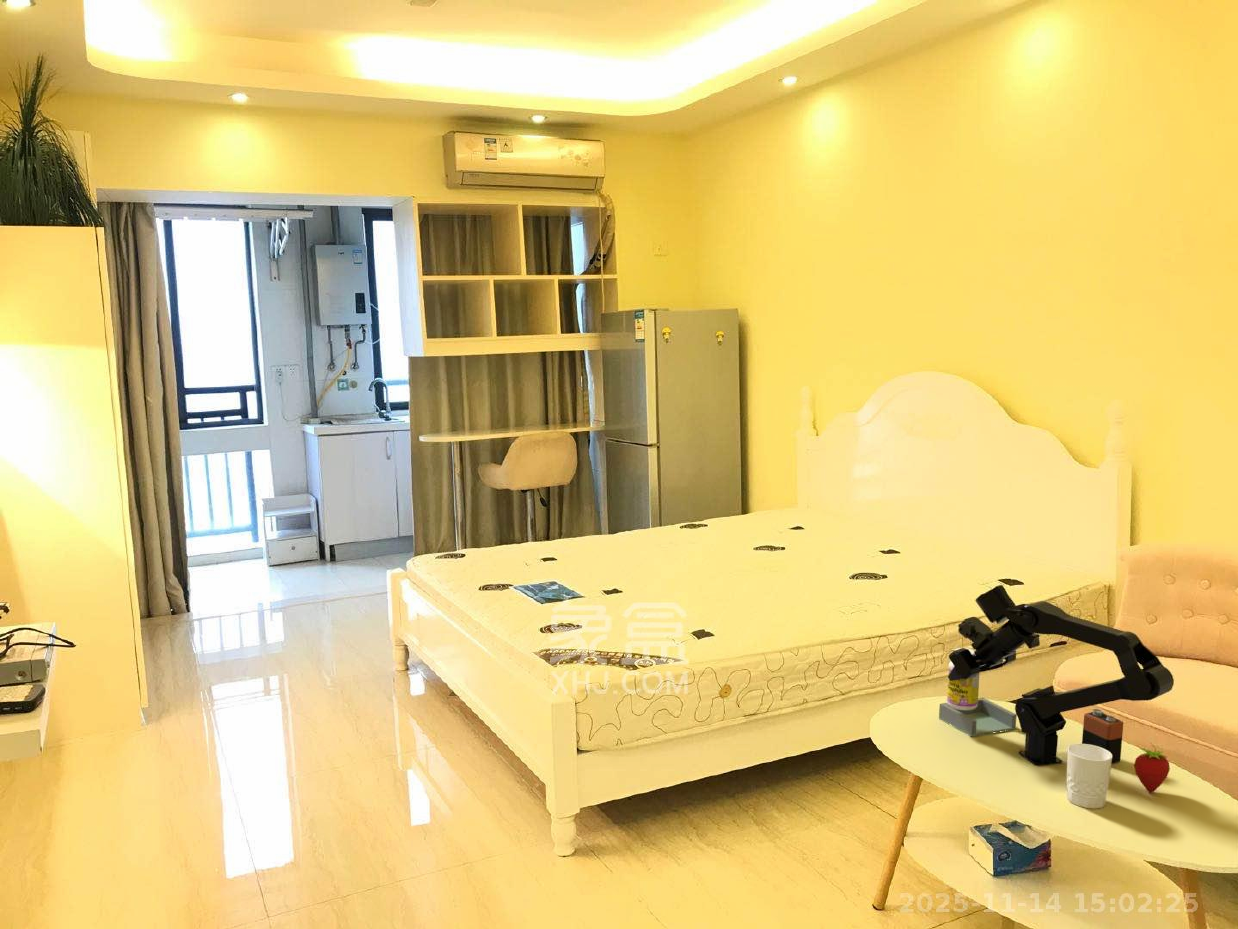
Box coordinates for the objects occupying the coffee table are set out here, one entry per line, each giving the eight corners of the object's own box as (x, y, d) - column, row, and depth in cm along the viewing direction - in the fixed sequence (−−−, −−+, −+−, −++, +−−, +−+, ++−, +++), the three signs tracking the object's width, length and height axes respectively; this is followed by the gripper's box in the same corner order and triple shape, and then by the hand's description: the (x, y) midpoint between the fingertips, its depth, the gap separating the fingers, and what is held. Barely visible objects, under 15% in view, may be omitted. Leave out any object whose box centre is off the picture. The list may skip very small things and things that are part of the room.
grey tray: (1015, 729, 233) (1016, 714, 232) (971, 737, 228) (972, 721, 228) (981, 712, 243) (982, 697, 242) (938, 718, 239) (939, 703, 238)
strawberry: (1125, 791, 202) (1129, 743, 201) (1143, 781, 207) (1148, 734, 205) (1155, 803, 198) (1160, 754, 196) (1173, 792, 202) (1178, 744, 201)
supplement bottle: (941, 705, 232) (943, 650, 230) (957, 698, 236) (959, 644, 234) (967, 713, 227) (970, 658, 225) (983, 706, 231) (986, 651, 229)
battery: (1094, 750, 222) (1098, 706, 221) (1121, 762, 216) (1125, 717, 214) (1079, 753, 220) (1083, 709, 219) (1106, 766, 214) (1110, 720, 213)
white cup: (1117, 805, 197) (1121, 755, 195) (1090, 814, 193) (1095, 763, 191) (1080, 788, 204) (1084, 740, 202) (1054, 797, 200) (1058, 748, 198)
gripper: (1006, 602, 231) (961, 637, 241) (958, 616, 219) (913, 652, 230) (1037, 644, 226) (989, 679, 236) (989, 661, 214) (941, 696, 224)
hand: (958, 675), depth 232 cm, fingers closed on supplement bottle, 7 cm apart
